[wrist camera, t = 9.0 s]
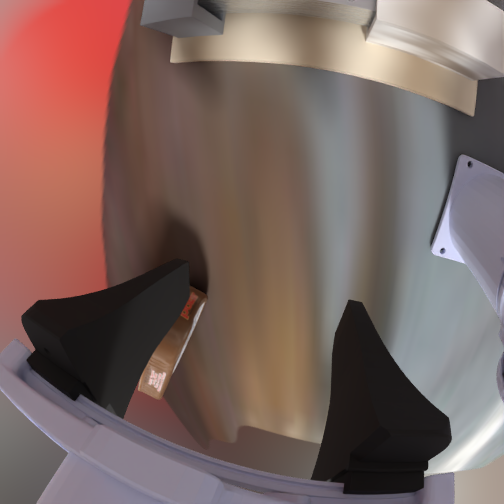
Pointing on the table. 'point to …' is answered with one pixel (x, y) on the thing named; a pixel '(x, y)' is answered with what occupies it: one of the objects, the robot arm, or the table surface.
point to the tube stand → (373, 46)
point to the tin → (172, 347)
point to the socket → (181, 18)
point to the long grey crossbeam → (299, 8)
